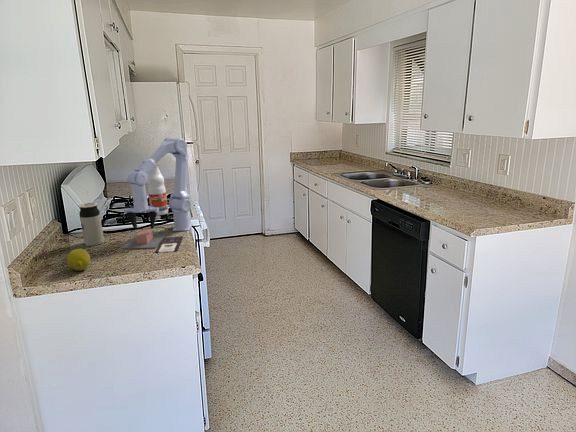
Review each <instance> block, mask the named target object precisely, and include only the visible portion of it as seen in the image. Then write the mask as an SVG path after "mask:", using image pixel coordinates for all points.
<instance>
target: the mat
mask: <svg viewBox="0 0 576 432" xmlns="http://www.w3.org/2000/svg"><path fill="white" fill-rule="evenodd" d="M167 235H168V233H153V239H152V240H151V241H150V242H149V243H148V244H137V240H136V235H135V236H134V237H132V238H131V240H129V241H128V242H127V243H126V244H125V245H124V246H123V247H122V248H121V249H122V250H149V249H151V250H152V249H157V248H158V246H159V244H160V242H161V240H162V239H163V238H164V237H167Z"/></svg>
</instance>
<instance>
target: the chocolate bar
mask: <svg viewBox="0 0 576 432" xmlns="http://www.w3.org/2000/svg"><path fill="white" fill-rule="evenodd" d="M183 239H184V236H182V235H181V236H168V237H167V236H166V237H164V238H163V239H162V240H161V242H160V244H159V245H158V246H157V247H156V248H155V249H156V250H155V251H154V252H155V254H160V253H175V252H178V251H179V249H180V247H181V243H182V242H183Z"/></svg>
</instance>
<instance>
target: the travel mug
mask: <svg viewBox="0 0 576 432" xmlns="http://www.w3.org/2000/svg"><path fill="white" fill-rule="evenodd" d="M78 208H79V211H78V214H79V219H80V220H79V221H80V225H81V230H82V235H83V242H84V245H86V246H88V247H89V246H90V247H93V246H94V247H95V246H98V245H101V244H103V243H104V242H105V237H104V230H103V225H102V220H101V213H100V210H99V208H98V203H97V202H84V203H80V204H79V205H78Z"/></svg>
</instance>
